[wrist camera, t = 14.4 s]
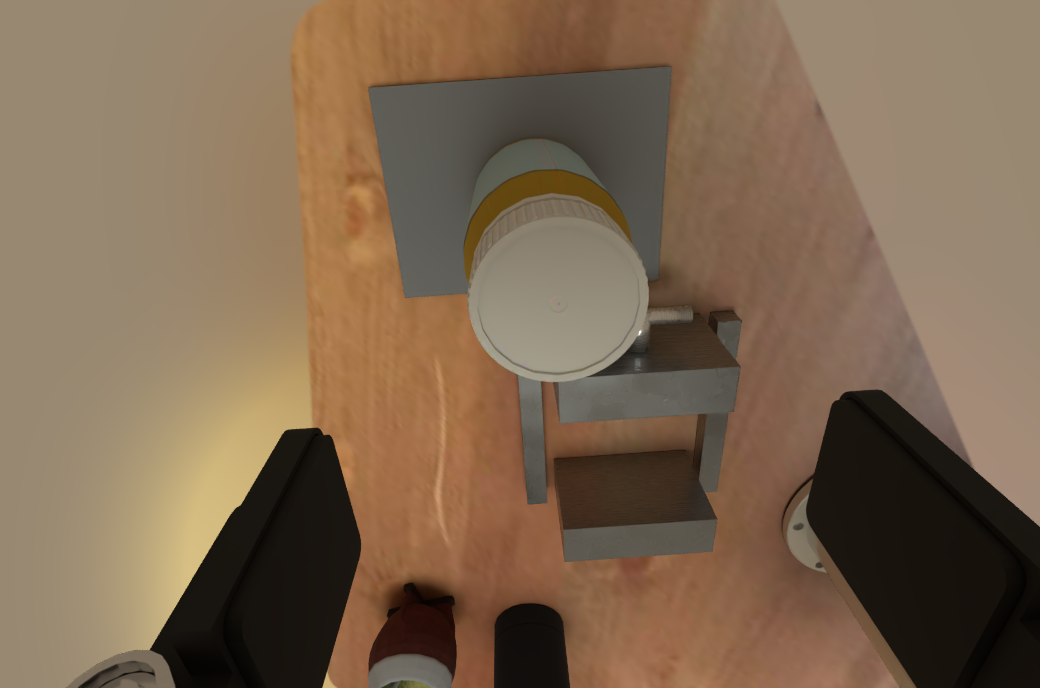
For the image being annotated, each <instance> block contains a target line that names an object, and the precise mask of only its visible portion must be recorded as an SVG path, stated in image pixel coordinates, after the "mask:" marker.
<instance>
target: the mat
mask: <svg viewBox="0 0 1040 688" xmlns="http://www.w3.org/2000/svg"><path fill="white" fill-rule="evenodd" d="M671 69H672V66H667V67H653V68H638V69H624V70H610V71H596V72H582V73H567V74H553V75H539V76H525V77H511V78H496V79H482V80H468V81H454V82H439V83H425V84H411V85H397V86H383V87H370V88H368V90H369V96H370V101H371V107H372V113H373V118H374V124H375V130H376V135H377V141H378V147H379V152H380V158H381V164H382V169H383V175H384V181H385V186H386V192H387V198H388V203H389V209H390V215H391V220H392V226H393V232H394V237H395V243H396V249H397V254H398V260H399V266H400V271H401V277H402V283H403V289H404V294H405V298H410V297H425V296H439V295H453V294H468V287H469V283H468V281H467V278H466V274H465V266H464V240H465V235H466V230H467V224H468V219H469V214H470V209H471V204H472V199H473V194H474V190H475V186H476V182H477V179H478V177H479V175H480V173H481V171H482V169H483V168H484V166H485V165H486V163H487V162H488V160H489V159H490V158H491V157H492V156H493V155H494V154H496V153H497V152H498V151H499V150H501V149H502V148H503V147H505V146H506V145H508V144H511V143H514V142H516V141H519V140H522V139H527V138H545V139H549V140H553V141H556V142H559V143H562V144H564V145H566V146H567V147H568V148H570V149H571V150H572V151H574V152H575V153H576V154H578V155H579V156H580V157H581V158H582V159H583V160H584V162H585V163H586V164H587V165H588V167H589V168H590V169H591V170H592V172H593V173H594V174H595V176H596V177H597V178H598V179H599V181H600V182H601V183H602V185H603V186H604V187H605V188H606V190H607V191H608V192H609V193H610V195H611V196H612V197H613V199H614V200H615V202H616V203H617V205H618V206H619V208H620V209H621V211H622V212H623V215H624V216H625V218H626V221H627V223H628V227H629V231H630V235H631V238H632V245H633V246H634V248H635V249H636V251H637V252H638V255H639V257H640V258H641V260H642V262H643V263H642V265H643V266H644V268H645V270H646V273H645V274H646V276H647V278H648V281H654V280H658V276H659V260H660V244H661V228H662V212H663V196H664V180H665V164H666V148H667V132H668V117H669V101H670V85H671Z"/></svg>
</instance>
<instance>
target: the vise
mask: <svg viewBox="0 0 1040 688" xmlns="http://www.w3.org/2000/svg"><path fill="white" fill-rule="evenodd" d="M741 323H742V320H741V319H740V318H739V317H738V316H737V315H736V314H735V313H734V311H723V312H710V320H709V325H708V324H707V323H706V321H705V320H704V319H703V318H702V316H701V315H700V314H699V313H694V314H693V310H692V307H691V306H690V305H687V306H672V307H658V308H647V313H646V317H645V320H644V323H643V326H642V328H641V330H640V332H639V334H638V336H637V337H636V339H635V340H634V342H633V343H632V345H631V346H630V347H629V348H628V349H627V351H626V352H625V353H624V354H623V355H622V356H621V357H619V358H618V359H617V360H616V361H615V362H613V363H612V364H611V365H609V366H608V367H606V368H604V369H603V370H601V371H599V372H597V373H594V374H592V375H590V376H587V377H584V378H580V379H576V380H571V381H564V382H553V384H554V390H555V396H556V403H557V409H558V415H559V421H560V424H562V423H577V422H591V421H606V420H620V419H634V418H649V417H663V416H678V415H692V414H699V415H698V424H697V433H696V442H695V450H694V459H693V466H692V464H691V462H690V460H689V458H688V456H687V454H686V451H685V450H676V451H662V452H648V453H633V454H619V455H604V456H590V457H575V458H561V459H554V470H555V490H556V498H557V506H558V514H559V522H560V530H561V538H562V546H563V554H564V562H570V561H585V560H599V559H614V558H628V557H643V556H657V555H672V554H686V553H701V552H713V545H714V538H715V532H716V525H717V517H716V515H715V513H714V511H713V509H712V507H711V505H710V503H709V500H708V498H707V496H706V494H705V492H716V491H717V487H718V480H719V474H720V467H721V460H722V453H723V446H724V439H725V433H726V426H727V419H728V412H734V407H735V400H736V393H737V387H738V380H739V374H740V365H739V364H738V363H737V361H736V357H737V350H738V344H739V337H740V330H741ZM518 381H519V395H520V408H521V422H522V435H523V448H524V462H525V475H526V489H527V502H528V504H542V503H547V488H546V469H545V450H544V430H543V411H542V391H541V381H538V380H533V379H529V378H526V377H523V376H520V375H518Z"/></svg>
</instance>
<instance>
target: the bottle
mask: <svg viewBox="0 0 1040 688" xmlns="http://www.w3.org/2000/svg"><path fill="white" fill-rule="evenodd" d="M642 263H643V262H642V260H641V258H640V257H639V255H638V252H637V251H636V249H635V248H634V246H633V245H632V238H631V235H630V231H629V227H628V223H627V221H626V218H625V216H624V215H623V212H622V211H621V209H620V208H619V206H618V205H617V203H616V202H615V200H614V199H613V197H612V196H611V195H610V193H609V192H608V191H607V190H606V188H605V187H604V186H603V185H602V183H601V182H600V181H599V179H598V178H597V177H596V176H595V174H594V173H593V172H592V170H591V169H590V168H589V167H588V165H587V164H586V163H585V162H584V160H583V159H582V158H581V157H580V156H579V155H578V154H576V153H575V152H574V151H572V150H571V149H570V148H568V147H567V146H566V145H564V144H562V143H559V142H556V141H553V140H549V139H545V138H527V139H522V140H519V141H516V142H514V143H511V144H508V145H506V146H505V147H503V148H502V149H501V150H499V151H498V152H497V153H496V154H494V155H493V156H492V157H491V158H490V159H489V160H488V162H487V163H486V165H485V166H484V168H483V169H482V171H481V173H480V175H479V177H478V179H477V182H476V186H475V190H474V194H473V199H472V204H471V209H470V214H469V219H468V224H467V230H466V235H465V240H464V266H465V274H466V278H467V281H468V283H469V287H468V297H467V301H468V311H470V313H469V318H470V320H471V322H472V328H473V329H474V331H475V334H476V336H477V338H478V340H479V341H480V343H481V345H482V346H483V348H484V349H485V350H486V351H487V353H488V354H489V355H490V356H491V357H492V358H493V359H494V360H495V361H497V362H498V363H499V364H500V365H502V366H503V367H505V368H506V369H508V370H510V371H511V372H513V373H515V374H518V375H520V376H523V377H526V378H529V379H533V380H538V381H545V382H564V381H571V380H576V379H580V378H584V377H587V376H590V375H592V374H594V373H597V372H599V371H601V370H603V369H604V368H606V367H608V366H609V365H611V364H612V363H613V362H615V361H616V360H617V359H618V358H619V357H621V356H622V355H623V354H624V353H625V352H626V351H627V349H628V348H629V347H630V346H631V345H632V343H633V342H634V340H635V339H636V337H637V336H638V334H639V332H640V330H641V328H642V326H643V323H644V320H645V317H646V313H647V308H648V300H649V292H648V291H649V287H648V283H647V282H648V278H647V276H646V274H645V273H646V270H645V268H644V266H643V265H642Z"/></svg>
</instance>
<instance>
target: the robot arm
mask: <svg viewBox="0 0 1040 688" xmlns="http://www.w3.org/2000/svg"><path fill="white" fill-rule="evenodd" d="M783 535H784V539H785V542H786V544H787V545H788V547H789V549H790V551H791V553H792V554H793V555H794V556H795V558H796V559H797V560H798V561H800V562H801V563H802V564H804V565H805V566H807V567H809V568H811V569H813V570H816V571H821V572H825V573H828V575H829V577H830V578H831V580H832V581H833V583H834V584H835V586H836V588H837V589H838V591H839V592H840V594H841V596H842V597H843V599H844V600H845V602H846V603H847V605H848V607H849V608H850V610H851V611H852V613H853V614H854V616H855V618H856V619H857V621H858V622H859V624H860V625H861V627H862V629H863V630H864V632H865V633H866V635H867V637H868V638H869V640H870V641H871V643H872V644H873V646H874V648H875V649H876V651H877V652H878V654H879V655H880V657H881V659H882V660H883V662H884V663H885V665H886V667H887V668H888V670H889V671H890V673H891V674H892V676H893V678H894V679H895V681H896V682H897V684H898V685H899V687H900V688H1040V527H1039V526H1038V525H1037V524H1036V523H1035V522H1034V521H1032V520H1031V519H1030V518H1029V517H1028V516H1027V515H1025V514H1024V513H1023V512H1022V511H1021V510H1019V508H1018V507H1016V506H1015V505H1014V504H1013V503H1012V502H1010V501H1009V500H1008V499H1007V498H1006V497H1005V496H1004V495H1003V494H1001V493H1000V492H999V491H998V490H997V489H995V488H994V487H993V486H992V485H991V484H990V483H989V482H987V481H986V480H985V479H984V478H983V477H982V476H981V475H979V474H978V473H977V472H976V471H975V470H974V469H973V468H971V467H970V466H969V465H968V464H967V463H966V462H965V461H963V460H962V459H961V458H960V457H959V456H958V455H957V454H955V453H954V452H953V451H952V450H951V449H950V448H948V447H947V446H946V445H945V444H944V443H943V442H942V441H940V440H939V439H938V438H937V437H936V436H935V435H934V434H932V433H931V432H930V431H929V430H928V429H927V428H925V427H924V426H923V425H922V424H921V423H920V422H919V421H917V420H916V419H915V418H914V417H913V416H912V415H911V414H909V413H908V412H907V411H906V410H905V409H904V408H902V407H901V406H900V405H899V404H898V403H897V402H896V401H894V400H893V399H892V398H891V397H890V396H889V395H888V394H886V393H885V392H883V391H882V390H864V391H849V392H845V393H844V394H843V395H842V396H841V397H840V400H837V401H835V402H834V403H833V404H832V406H831V410H830V414H829V418H828V421H827V425H826V429H825V433H824V437H823V441H822V445H821V449H820V453H819V457H818V461H817V465H816V469H815V473H814V477H813V479H812V480H810V481H809V482H808V483H807V484H806V485H805V486H804V487H803V488H802V489H801V490H800V491H799V492H798V493H797V494H796V496H795V497H794V498H793V499H792V501H791V503H790V505H789V506H788V508H787V510H786V513H785V516H784V519H783ZM360 552H361V539H360V534H359V531H358V527H357V523H356V520H355V516H354V513H353V509H352V506H351V502H350V499H349V495H348V491H347V488H346V484H345V481H344V477H343V474H342V470H341V467H340V463H339V459H338V456H337V452H336V449H335V445H334V442H333V439H332V437H331V436H330V435H323V433H322V431H321V430H320V429H319V428H306V429H291V430H286V431H285V432H284V433H283V434H282V436H281V438H280V439H279V441H278V443H277V445H276V446H275V448H274V450H273V451H272V453H271V455H270V456H269V458H268V460H267V462H266V463H265V465H264V467H263V468H262V470H261V472H260V473H259V475H258V477H257V479H256V481H255V482H254V484H253V485H252V487H251V489H250V491H249V492H248V494H247V496H246V497H245V499H244V501H243V502H242V504H241V505H240V506H239V507H237V508H236V509H235V510H234V511H233V512H232V514H231V515H230V516H229V518H228V520H227V522H226V523H225V525H224V526H223V528H222V530H221V531H220V533H219V535H218V537H217V538H216V540H215V541H214V543H213V545H212V547H211V548H210V550H209V552H208V553H207V555H206V557H205V558H204V560H203V562H202V563H201V565H200V567H199V568H198V570H197V572H196V573H195V575H194V577H193V578H192V580H191V582H190V583H189V585H188V587H187V589H186V590H185V592H184V594H183V595H182V597H181V598H180V600H179V602H178V604H177V605H176V607H175V608H174V610H173V612H172V614H171V615H170V617H169V618H168V620H167V622H166V624H165V625H164V627H163V629H162V630H161V632H160V634H159V635H158V637H157V639H156V640H155V642H154V644H153V645H152V647H151V649H150V650H133V651H129V652H126V653H122V654H118V655H115V656H113V657H111V658H109V659H107V660H104V661H102V662H100V663H98V664H96V665H95V666H93V667H92V668H91V669H89V670H87V671H86V672H85V673H83V674H82V675H80V676H79V677H77V678H76V679H75V680H74V681H73V682H72V683H71V684H70V685H69V686H68V687H66V688H322V687H323V683H324V680H325V676H326V673H327V670H328V666H329V663H330V659H331V656H332V652H333V649H334V645H335V642H336V638H337V635H338V631H339V628H340V624H341V621H342V617H343V614H344V610H345V607H346V603H347V600H348V596H349V593H350V589H351V586H352V582H353V579H354V575H355V572H356V568H357V565H358V561H359V558H360Z"/></svg>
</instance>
